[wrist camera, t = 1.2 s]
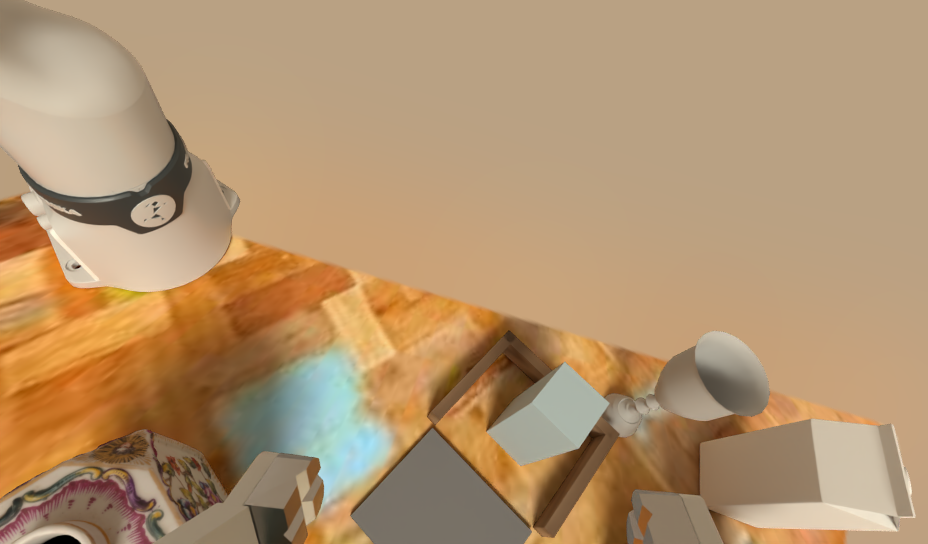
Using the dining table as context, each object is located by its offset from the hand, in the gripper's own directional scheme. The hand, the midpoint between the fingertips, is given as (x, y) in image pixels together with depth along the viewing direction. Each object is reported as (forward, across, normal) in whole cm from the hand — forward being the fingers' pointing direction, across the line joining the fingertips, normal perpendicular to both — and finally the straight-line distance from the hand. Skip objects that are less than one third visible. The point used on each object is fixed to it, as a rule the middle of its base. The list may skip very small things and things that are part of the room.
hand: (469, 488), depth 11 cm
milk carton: (+32, -27, +33) cm, 53 cm away
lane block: (+30, -2, +26) cm, 39 cm away
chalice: (+35, -14, +26) cm, 46 cm away
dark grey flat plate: (+20, +5, +29) cm, 36 cm away
